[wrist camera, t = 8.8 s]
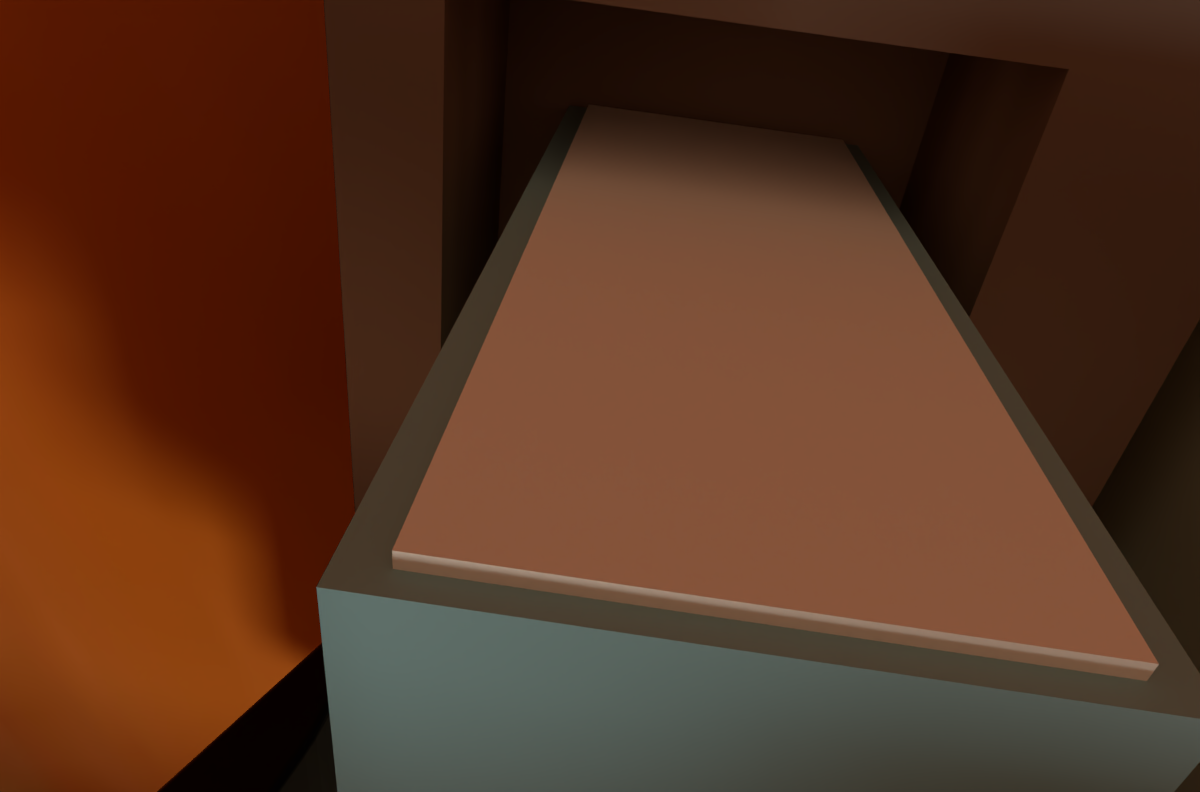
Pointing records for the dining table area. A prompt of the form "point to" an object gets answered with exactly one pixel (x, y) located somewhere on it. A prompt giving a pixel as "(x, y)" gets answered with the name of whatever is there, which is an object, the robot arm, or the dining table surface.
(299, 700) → the robot arm
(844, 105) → the book rack
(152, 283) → the dining table surface
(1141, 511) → the olive book
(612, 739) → the teal book
